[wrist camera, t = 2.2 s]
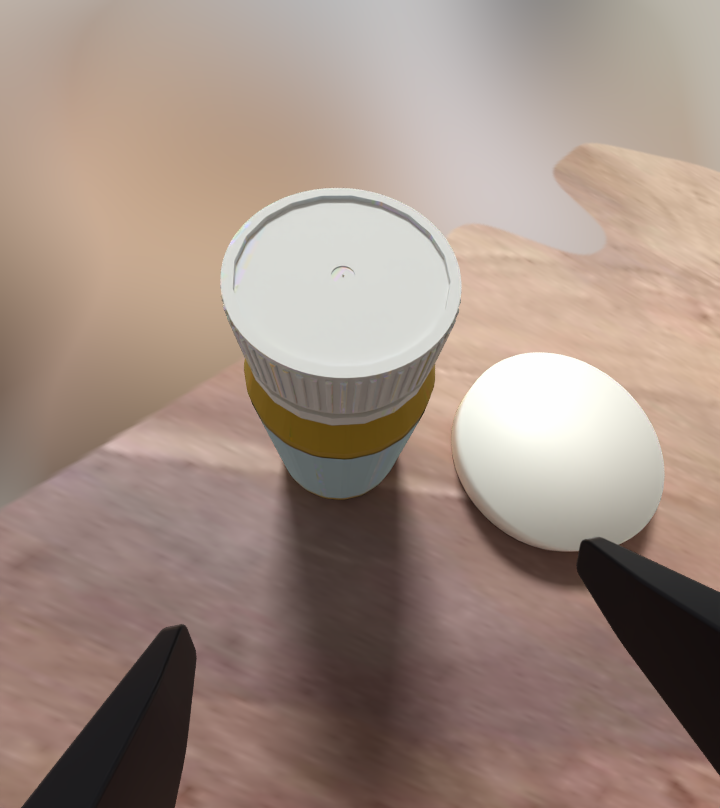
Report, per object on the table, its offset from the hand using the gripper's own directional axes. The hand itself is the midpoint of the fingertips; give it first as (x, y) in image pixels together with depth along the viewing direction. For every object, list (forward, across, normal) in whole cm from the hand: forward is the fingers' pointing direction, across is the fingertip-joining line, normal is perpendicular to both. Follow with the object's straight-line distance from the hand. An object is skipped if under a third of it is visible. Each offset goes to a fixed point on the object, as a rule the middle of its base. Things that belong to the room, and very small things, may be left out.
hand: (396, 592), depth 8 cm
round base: (+13, -13, +6) cm, 19 cm away
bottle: (+15, 0, +4) cm, 15 cm away
